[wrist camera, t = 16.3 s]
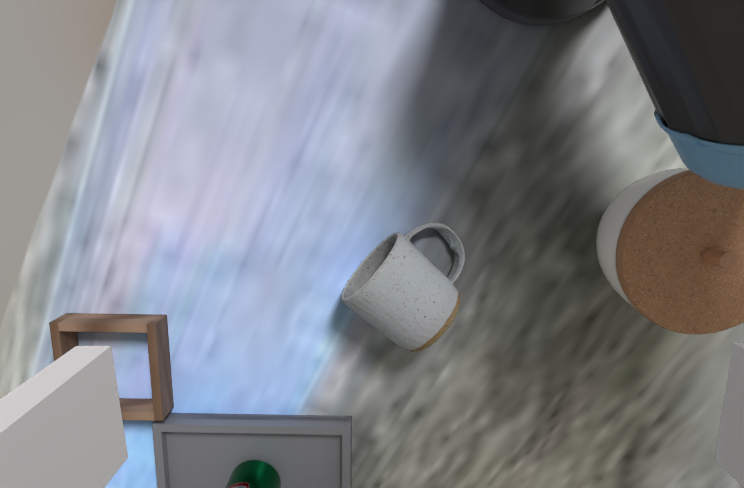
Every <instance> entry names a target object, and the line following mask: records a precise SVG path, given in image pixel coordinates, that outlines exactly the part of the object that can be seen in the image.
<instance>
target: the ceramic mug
mask: <svg viewBox="0 0 744 488" xmlns="http://www.w3.org/2000/svg"><path fill="white" fill-rule="evenodd" d="M427 228H433V229H434V230H437V231H438V232H439V233H440V234H441V235H442V237H443V238H444V239H445V240H446V241H447V242H448V244H449V246H450V248H451V249H452V250H454V253H455V262H454V265H453V267H452V270H451V272H450V274H449V276H448V277H446V276H445V275H444V274H443V273H442V272H441V271H440V270H439V269H437V268H436V267H435V266H434V265H433V264H432V263H431V262H430V261H429V260H428V259H427V258H426V257H425V256H424V255H423V254H422V253H421V252H420V251H419V250H418V249H417V248H416V247H415V246H414V245H413V244H412V243H411V242H410V239H411V238H412V236H414V235H415V234H417V233H418V232H420V231H422V230H424V229H427ZM464 262H465V252H464V247H463V244H462V242H461V240H460V238H459V237H458V235H457V234H456V233H455V232H454V231H453V230H452V229H451V228H449V227H448V226H447V225H445V224H442V223H438V222H434V223H426V224H423V225H420V226H417V227H415V228H413V229H412V230H410V231H409V232H408V233H406V234H405V235H403V234H401V233H399V232H398V233H394V234H392V235H391V236H389V237H387V238H386V239H385V240H383V241H382V242H381V243H380V244H379V245H378V246H377V247H376V248H375V249H374V250H373V251H372V252H371V253H370V254H369V255H368V256H367V257H366V258H365V260H364V261H363V262H362V263H361V264H360V266H358V268H357V269H356V271H355V272H354V273H353V275H352V276H351V278H350V279H349V280H348V282H347V284H346V286H345V288H344V290H343V292H342V296H341V300H342V302H343V303H344V304H345V305H346V306H348V307H349V308H350V309H352V310H353V311H354V312H356V313H357V314H358V315H359V316H361V317H362V318H363V319H365V320H366V321H367V322H368V323H370V324H371V325H372V326H374V327H375V328H376V329H378V330H379V331H380V332H382V333H383V334H384V335H385V336H386V337H388V338H389V339H390V340H392V341H393V342H394V343H396V344H397V345H399V346H401V347H403V348H404V349H406V350H409V351H420V350H423V349H425V348H427V347H429V346H431V345H432V344H433V343H435V342H436V341H437V340H438V339H439V338H440V337H441V336H442V335H443V334H444V333H445V332H446V330H447V329H448V328H449V326H450V325H451V324H452V322H453V321H454V319H455V317H456V315H457V313H458V310H459V306H460V295H459V292H458V291H457V289H456V288H455V286H454V285H453V283H454V282H455V281H456V280H457V278H458V277H459V276H460V273H461V271H462V269H463V266H464Z"/></svg>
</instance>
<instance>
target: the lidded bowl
mask: <svg viewBox="0 0 744 488" xmlns="http://www.w3.org/2000/svg"><path fill="white" fill-rule="evenodd" d="M596 250H597V256H598V260H599V264H600V267H601V269H602V272H603V273H604V275H605V277H606V278H607V280H608V282H609V283H610V285H611V286H612V287H613V288H614V289H615V291H616V292H617V293H618V294H619V295H620V296H621V297H622V298H623V299H624V300H625V301H627V302H628V303H629V304H630V305H632V306H633V307H634V308H636V310H637V311H639V312H640V313H641V314H642V315H644V316H645V317H646V318H647V319H649V320H650V321H652V322H654V323H656V324H658V325H659V326H661V327H663V328H666V329H669V330H671V331H674V332H679V333H685V334H708V333H715V332H719V331H722V330H726V329H729V328H731V327H734V326H736V325H739V324H741V323H743V322H744V189H737V188H730V187H726V186H721V185H717V184H714V183H711V182H709V181H707V180H706V179H704V178H702V177H701V176H699V175H697V174H695V173H693V172H692V171H690V170H689V169H688V168H679V169H671V170H665V171H661V172H658V173H654V174H651V175H648V176H646V177H643V178H641V179H639V180H637V181H635V182H634V183H632V184H631V185H629V186H628V187H626V188H625V189H624V190H623V191H621V192H620V193H619V194H618V195H617V196H616V197H615V198H614V199H613V200H612V202H611V203H610V204H609V206H608V207H607V209H606V210H605V212H604V214H603V216H602V218H601V220H600V223H599V227H598V230H597V238H596Z"/></svg>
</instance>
